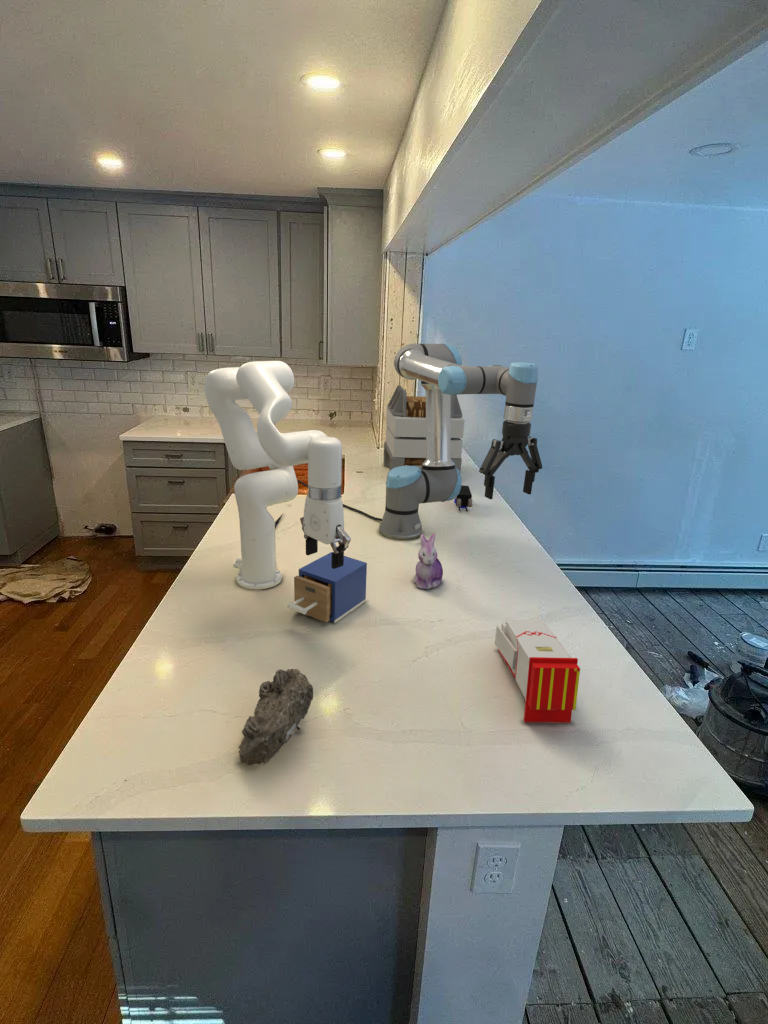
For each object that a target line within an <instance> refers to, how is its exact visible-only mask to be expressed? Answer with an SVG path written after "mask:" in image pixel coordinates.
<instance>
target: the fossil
mask: <svg viewBox="0 0 768 1024" xmlns="http://www.w3.org/2000/svg"><path fill="white" fill-rule="evenodd" d="M258 697H259V699H258V701H257V704H256V706H255V708H254V711H253V714H254V716H252V715H249V716H248V718H247V719H246V721H245V724H244V727H243V729H242V730H241V732H242V735H243V737H242V740H241V742H240V745H238V749H239V750H238V756H239V761H240V763H245V764H246V765H247V766H254V765H260V764H262V765H266V764H268V762H270V760H271V759H272V758H273V757H275V755H276V754H278V753H279V752H280V750H281V749H282V747H284V746H285V744H287V743H288V742H289V741H290V740H291V739H292V737H293V734H294V732H295V731H296V730H297V731H301V728H300V727H299V724H301V723H300V722H301V721H302V720H304V719H305V717H306V716H307V714H308V712H309V709H310V707H311V704H312V701H313V700H314V686H313V685H312V684H311V683H310V681H309V678H308V677H307V676H306V674H304V673H302V672H301V670H299V669H298V668H290V669H289V668H288V669H287V670H284V669H279V668H278V669H277V670H276V671H275V674H274V675H273V678H272V681H270V680H266V681H263V682H262V683H261V684H260V685H259V690H258Z"/></svg>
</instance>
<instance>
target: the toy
mask: <svg viewBox="0 0 768 1024" xmlns="http://www.w3.org/2000/svg"><path fill="white" fill-rule="evenodd" d="M494 645H495V647H496V648H497V651H498V653H499V654H500V656H501V658H502V660H503V661H504V663H505V665H506V666H507V668H508V670H509V671H510V673H511V675H512V676H513V678H514V679H515V682H516V684H517V686H518V688H519V690H520V692H521V693H522V695H523V697H524V699H525V701H524V703H525V705H524V712H523V713H524V714H523V722H524V723H550V724H551V723H552V724H553V723H554V724H556V723H557V724H558V723H559V724H561V723H562V724H571V723H572V717H573V716H572V715H573V711H576V708H577V699H578V692H579V682H580V674H581V667H580V666H579V664H578V663H579V662H578V661H579V659H578V658H577V657H572V656H571V655H570V653H569V652H568V651H567V649H566V648H565V647H564V645H563V644H562V643H561V641H560V639H558V637H556V635H555V634H554V632H553V631H552V630H551V628H550V626H549V625H547V623H546V622H545V621H544V620H517V619H516V620H513V619H512V620H511V619H510V620H509V619H506V620H505V622H501V627H500V626H499V625H497V626H496V628H495V637H494Z"/></svg>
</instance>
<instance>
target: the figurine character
mask: <svg viewBox="0 0 768 1024" xmlns="http://www.w3.org/2000/svg"><path fill="white" fill-rule="evenodd" d="M472 497H473V495H472V492H471V489H470V486H469V485H465V484H463V485H462V484H461V489H460V492H459V494H458V495H457V497H456V498H455V499H453V500H454V501H453V503H454V505H455V507H456V508H457V509H458V511H459V512H461V511H462V510H461V509H465V511H466V512H468V511H469V510H468V508H472V507H473V498H472Z"/></svg>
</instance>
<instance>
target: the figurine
mask: <svg viewBox="0 0 768 1024" xmlns="http://www.w3.org/2000/svg"><path fill="white" fill-rule="evenodd" d="M436 536H437V535H436V533H435V532H433V533H431V534H430V537H429V539H427V538H426V536H425V535H424V534H423V533H422V534H421V536H420V537H419V538H420V540H419V541H420V548H419V550H418V553H417V557H418V560H419V561H418V562H416V565H415V575H414V580H413V581H414V583H415V585H416V587H417V588H418V589H419V588H420V589H423V590H430V589H432V588H437V587H438V586H439V585H440V584H441V583H442V580H443V575H444V569H443V565H442V563H441V560H440V559H439V558H438V552H437V549H436V548H435V542H436Z"/></svg>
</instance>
